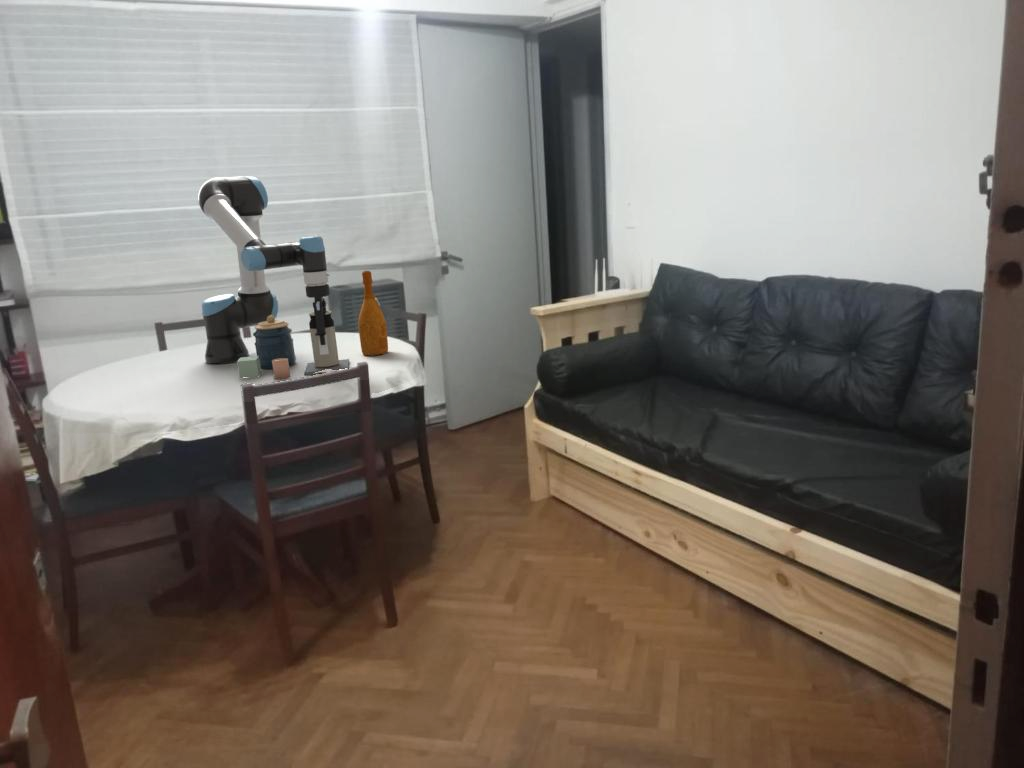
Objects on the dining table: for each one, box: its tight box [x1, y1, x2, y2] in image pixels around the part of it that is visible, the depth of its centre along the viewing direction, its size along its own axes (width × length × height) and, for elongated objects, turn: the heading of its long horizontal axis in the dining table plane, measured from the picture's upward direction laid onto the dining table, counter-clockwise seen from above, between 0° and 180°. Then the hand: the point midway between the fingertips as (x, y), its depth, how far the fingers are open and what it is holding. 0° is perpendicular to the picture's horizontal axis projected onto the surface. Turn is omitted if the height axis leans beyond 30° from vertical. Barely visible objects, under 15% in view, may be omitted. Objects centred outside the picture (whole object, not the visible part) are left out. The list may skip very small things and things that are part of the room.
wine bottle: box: [357, 270, 389, 356], centre depth 259 cm, size 10×10×30 cm
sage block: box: [236, 355, 262, 379], centre depth 240 cm, size 6×6×6 cm
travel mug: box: [308, 310, 340, 368], centre depth 242 cm, size 8×8×18 cm
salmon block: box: [272, 358, 291, 381], centre depth 235 cm, size 5×5×6 cm
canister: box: [252, 315, 297, 370], centre depth 252 cm, size 13×13×18 cm
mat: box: [303, 358, 350, 376], centre depth 244 cm, size 14×14×1 cm
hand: (325, 351), depth 243 cm, fingers open, 9 cm apart
